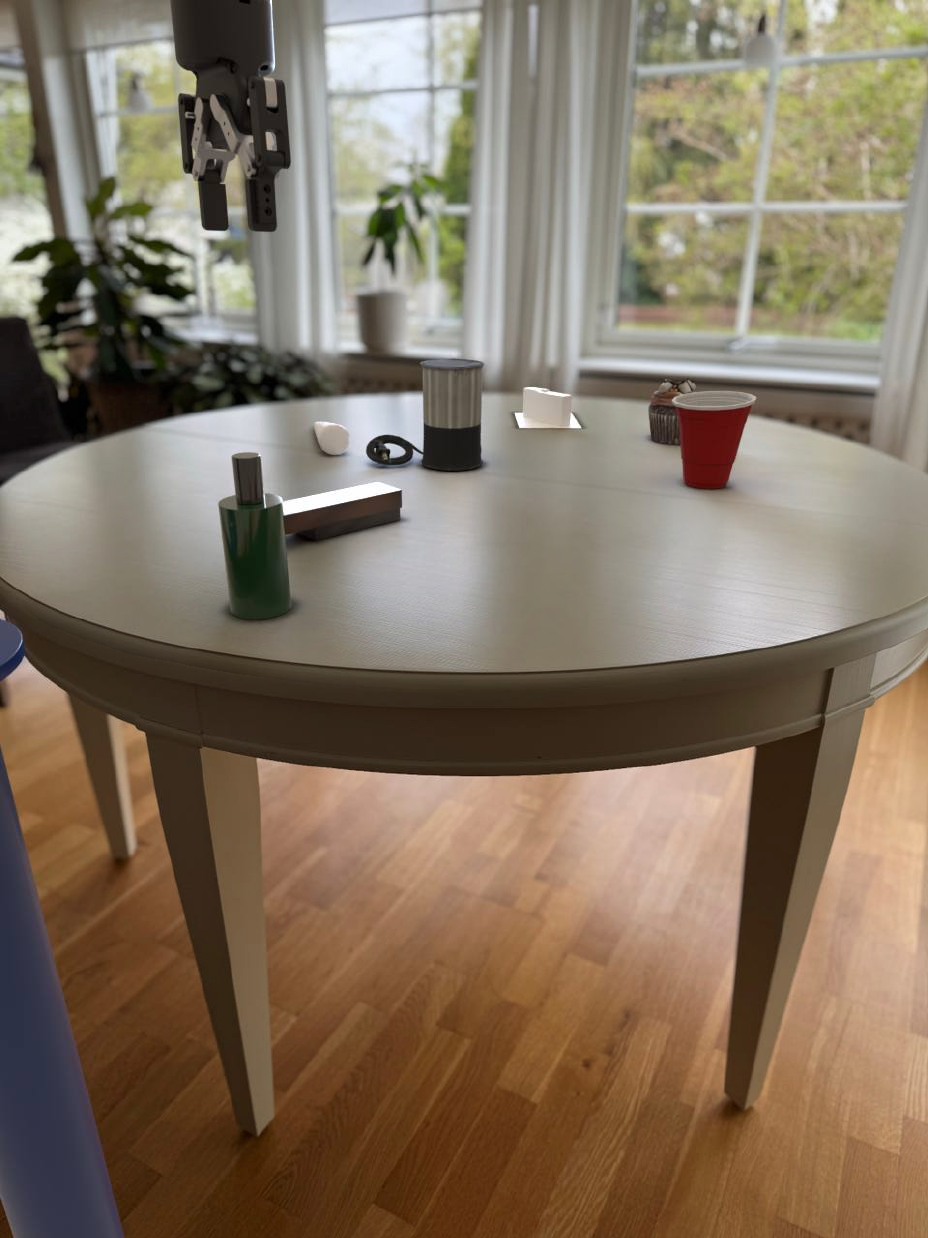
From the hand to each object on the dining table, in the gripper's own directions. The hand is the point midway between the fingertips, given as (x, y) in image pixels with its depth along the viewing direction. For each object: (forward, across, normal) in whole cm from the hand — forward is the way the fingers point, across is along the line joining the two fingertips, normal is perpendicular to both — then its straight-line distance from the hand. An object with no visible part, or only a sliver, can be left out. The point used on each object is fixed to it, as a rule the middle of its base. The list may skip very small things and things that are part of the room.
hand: (238, 231), depth 72 cm
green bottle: (+31, +6, -4) cm, 32 cm away
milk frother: (+31, -28, +42) cm, 59 cm away
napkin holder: (+30, -41, +80) cm, 95 cm away
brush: (+31, -9, +13) cm, 35 cm away
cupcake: (+30, -15, +85) cm, 91 cm away
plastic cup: (+30, +6, +64) cm, 71 cm away
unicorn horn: (+31, -51, +38) cm, 71 cm away
